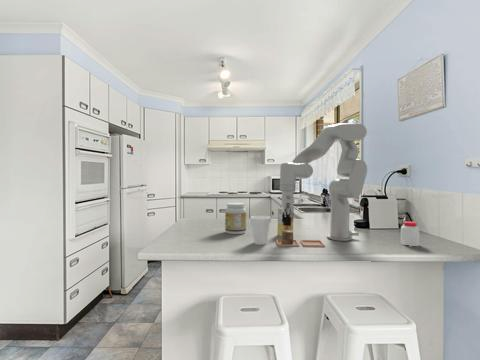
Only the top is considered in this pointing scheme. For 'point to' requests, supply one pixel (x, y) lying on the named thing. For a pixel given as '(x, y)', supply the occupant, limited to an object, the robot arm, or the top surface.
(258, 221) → the cup
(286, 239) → the letter block
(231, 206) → the supplement tub
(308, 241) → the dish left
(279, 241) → the dish middle
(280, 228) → the candy box
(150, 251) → the top surface
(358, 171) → the robot arm
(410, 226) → the pill bottle
